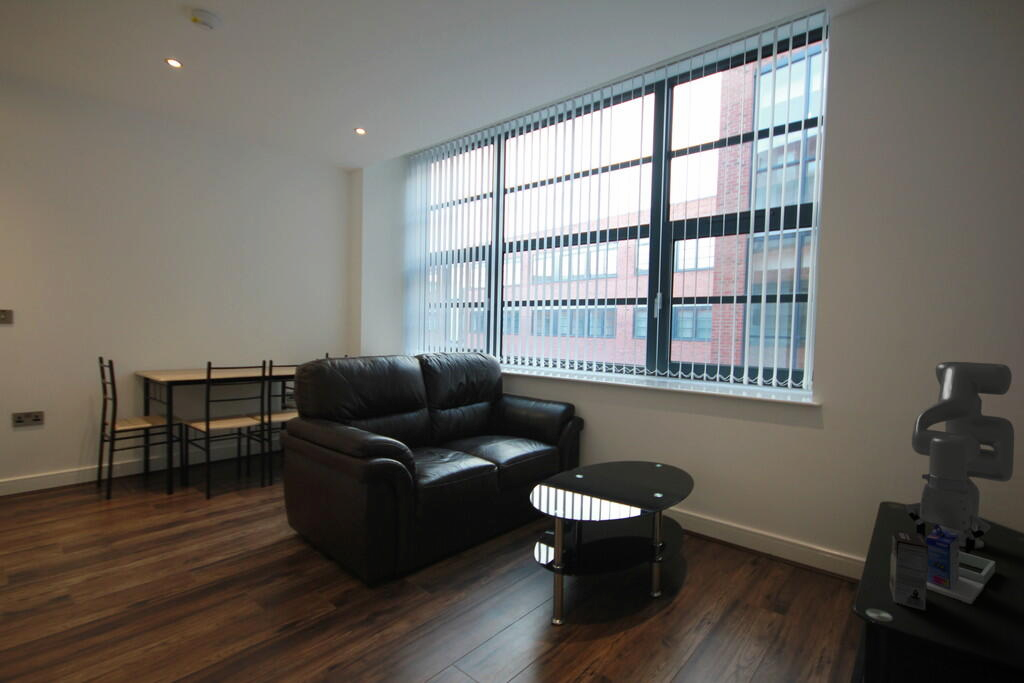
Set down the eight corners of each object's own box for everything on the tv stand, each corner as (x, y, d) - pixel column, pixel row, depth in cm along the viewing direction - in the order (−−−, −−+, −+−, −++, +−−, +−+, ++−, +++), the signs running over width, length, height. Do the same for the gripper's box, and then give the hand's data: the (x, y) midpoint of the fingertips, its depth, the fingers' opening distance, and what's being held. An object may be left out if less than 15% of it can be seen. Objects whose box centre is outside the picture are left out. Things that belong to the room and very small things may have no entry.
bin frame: (924, 550, 149) (925, 541, 149) (994, 571, 137) (995, 561, 137) (910, 563, 141) (910, 553, 141) (983, 586, 128) (983, 575, 128)
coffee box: (888, 587, 127) (891, 527, 127) (919, 594, 123) (922, 533, 123) (893, 603, 119) (896, 539, 119) (927, 611, 116) (930, 546, 115)
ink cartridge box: (932, 570, 135) (935, 519, 134) (959, 578, 130) (961, 526, 130) (923, 580, 129) (925, 527, 128) (950, 589, 124) (953, 535, 124)
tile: (917, 566, 139) (917, 562, 139) (983, 587, 128) (984, 584, 128) (901, 580, 131) (902, 576, 131) (971, 604, 119) (971, 600, 119)
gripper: (902, 477, 134) (900, 536, 134) (988, 495, 120) (985, 562, 120) (911, 472, 138) (908, 530, 139) (995, 489, 124) (991, 553, 125)
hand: (944, 545), depth 129 cm, fingers open, 9 cm apart
